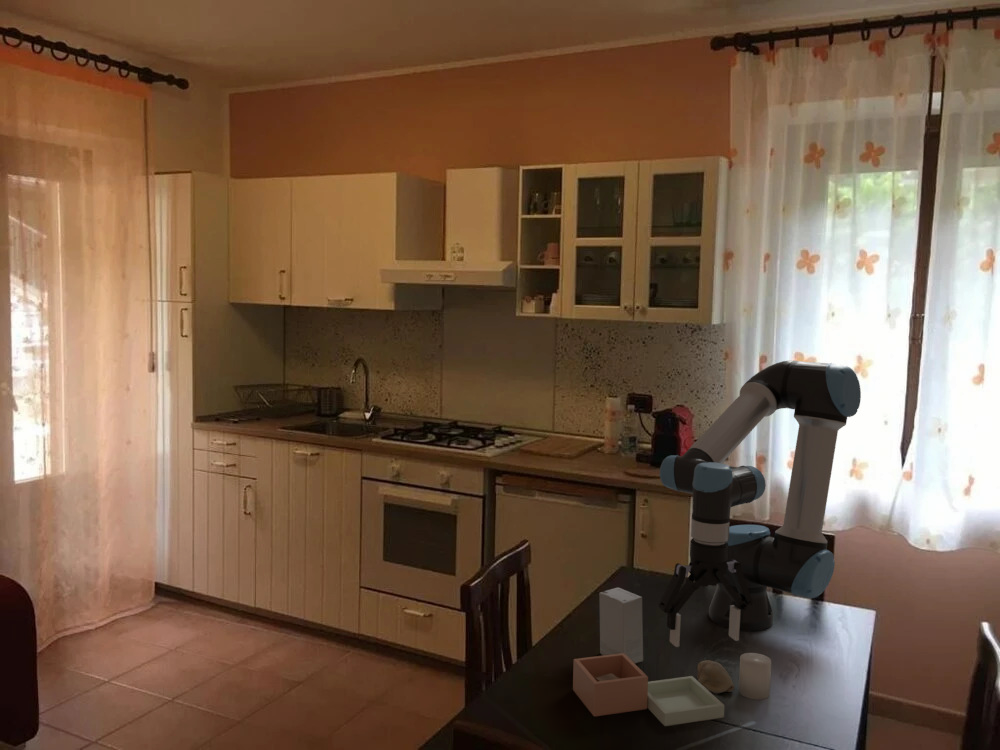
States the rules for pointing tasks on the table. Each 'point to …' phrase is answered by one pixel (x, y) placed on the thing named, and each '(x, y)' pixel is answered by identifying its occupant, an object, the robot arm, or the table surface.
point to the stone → (714, 677)
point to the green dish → (682, 701)
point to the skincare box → (621, 624)
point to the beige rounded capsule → (754, 676)
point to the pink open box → (610, 684)
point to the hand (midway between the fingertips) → (704, 641)
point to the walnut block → (606, 677)
